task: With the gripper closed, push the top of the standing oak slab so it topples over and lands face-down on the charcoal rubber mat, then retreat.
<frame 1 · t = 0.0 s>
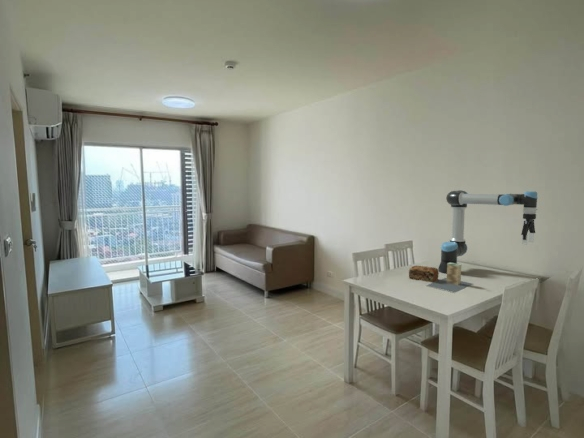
hand: (527, 243, 239), 28 cm above the table, fingers open, 13 cm apart
slab: (453, 283, 239), point 1 cm above the table, touching mat
bread: (423, 279, 251), on the table
mat: (450, 285, 236), on the table
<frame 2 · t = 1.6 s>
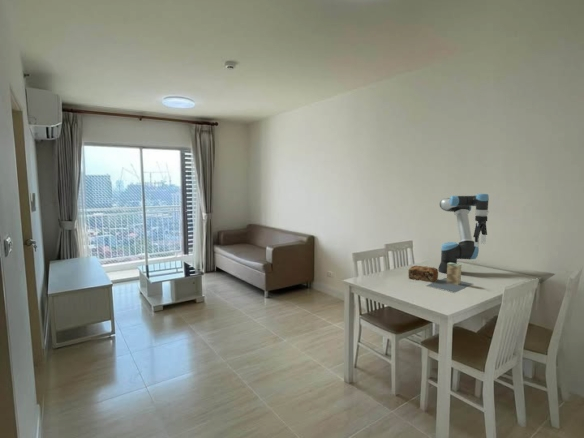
hand: (479, 245, 241), 27 cm above the table, fingers open, 13 cm apart
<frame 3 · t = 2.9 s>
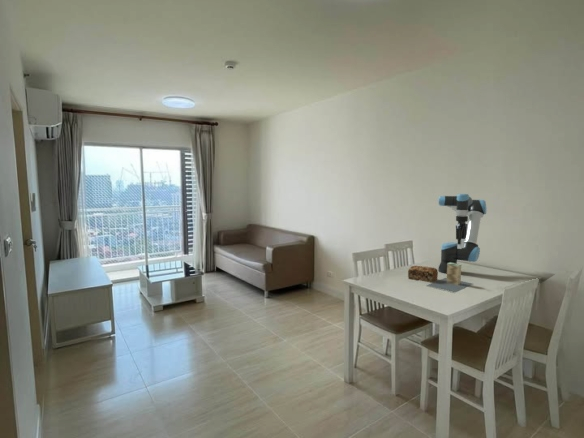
hand: (460, 248, 242), 25 cm above the table, fingers open, 3 cm apart
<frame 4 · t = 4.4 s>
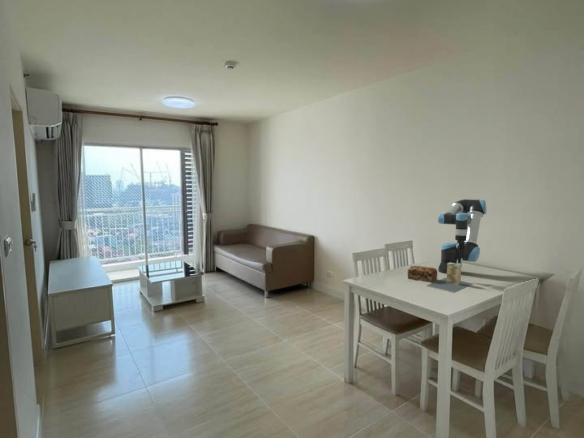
hand: (459, 267, 243), 11 cm above the table, fingers closed
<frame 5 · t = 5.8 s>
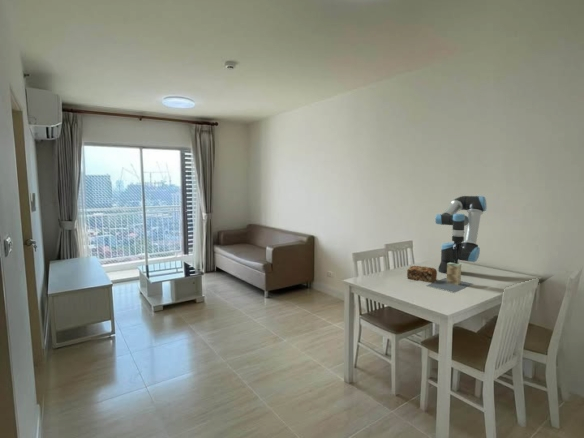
hand: (456, 268, 240), 11 cm above the table, fingers closed
slab: (453, 283, 239), point 1 cm above the table, touching gripper, mat
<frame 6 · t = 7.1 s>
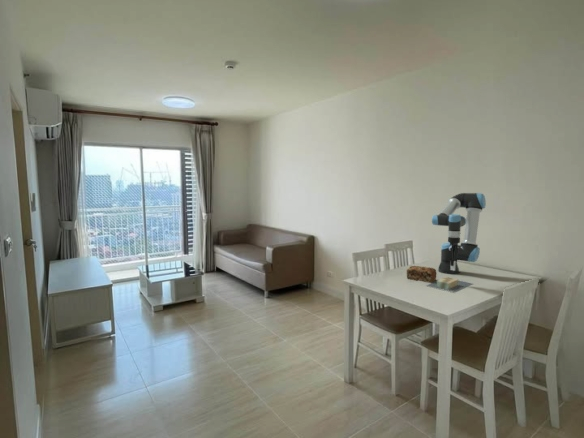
hand: (452, 270, 237), 10 cm above the table, fingers closed
slab: (452, 281, 237), point 3 cm above the table, tilted 90°, touching mat
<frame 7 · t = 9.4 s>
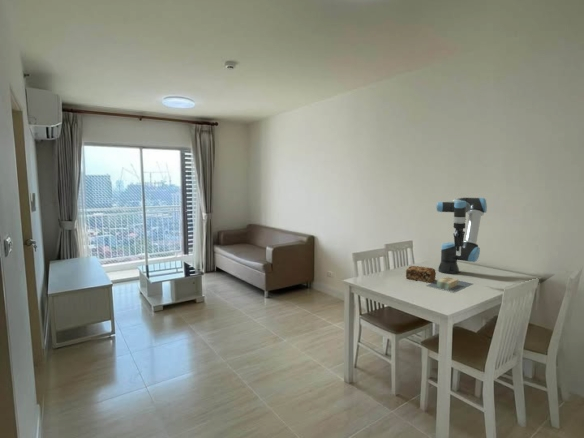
hand: (458, 255, 241), 20 cm above the table, fingers closed
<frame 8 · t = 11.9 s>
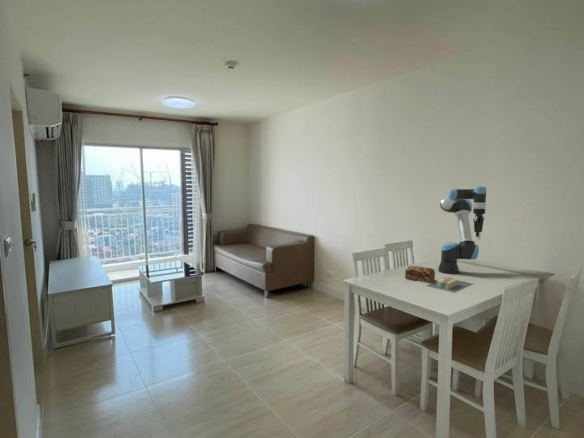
hand: (477, 240, 243), 29 cm above the table, fingers closed
at the end: slab tilted 90°; slab inside the target area on the mat (2.9 cm from its centre), point 2.6 cm above the mat's base; the gripper is holding nothing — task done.
